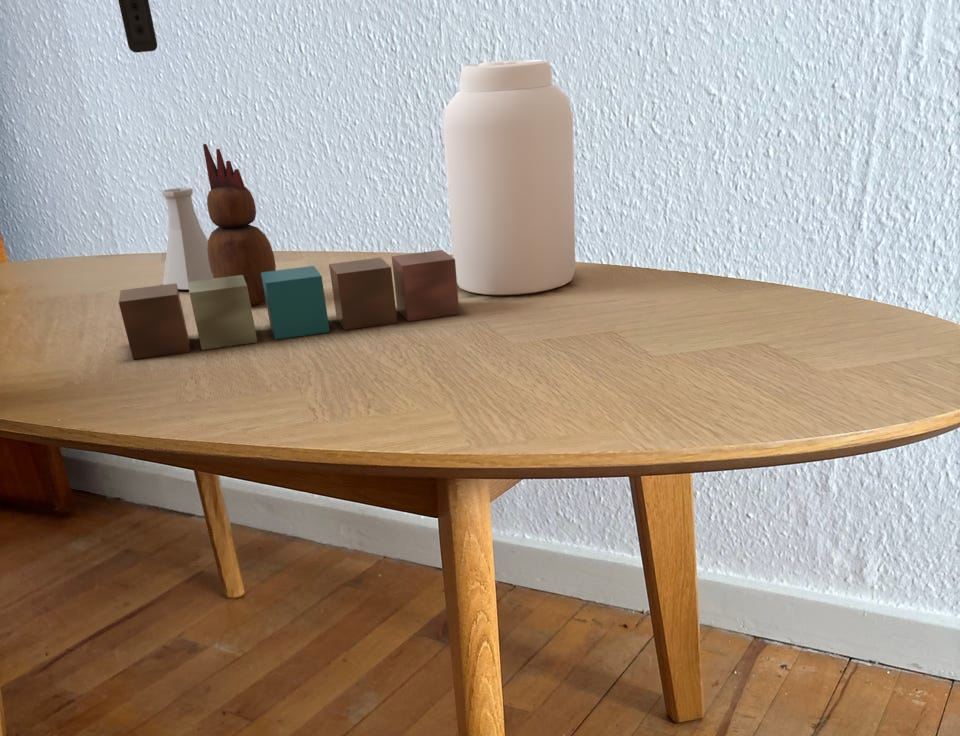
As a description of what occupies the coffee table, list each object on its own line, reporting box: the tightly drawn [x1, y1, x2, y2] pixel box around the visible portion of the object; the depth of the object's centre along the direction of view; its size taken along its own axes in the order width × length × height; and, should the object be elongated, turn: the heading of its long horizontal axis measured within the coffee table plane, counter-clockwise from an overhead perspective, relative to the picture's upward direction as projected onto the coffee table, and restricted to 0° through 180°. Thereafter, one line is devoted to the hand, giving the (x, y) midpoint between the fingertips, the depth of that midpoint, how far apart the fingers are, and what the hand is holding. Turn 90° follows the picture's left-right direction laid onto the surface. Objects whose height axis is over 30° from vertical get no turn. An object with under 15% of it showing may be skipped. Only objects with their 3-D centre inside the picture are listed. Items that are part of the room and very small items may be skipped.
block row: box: [118, 249, 460, 360], centre depth 92 cm, size 30×5×5 cm, turn 106°
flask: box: [161, 187, 214, 290], centre depth 111 cm, size 7×7×10 cm
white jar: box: [442, 59, 576, 296], centre depth 98 cm, size 12×12×20 cm
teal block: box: [261, 265, 331, 340], centre depth 92 cm, size 5×5×5 cm
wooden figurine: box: [202, 143, 277, 307], centre depth 100 cm, size 7×6×15 cm
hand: (144, 51), depth 82 cm, fingers open, 8 cm apart
